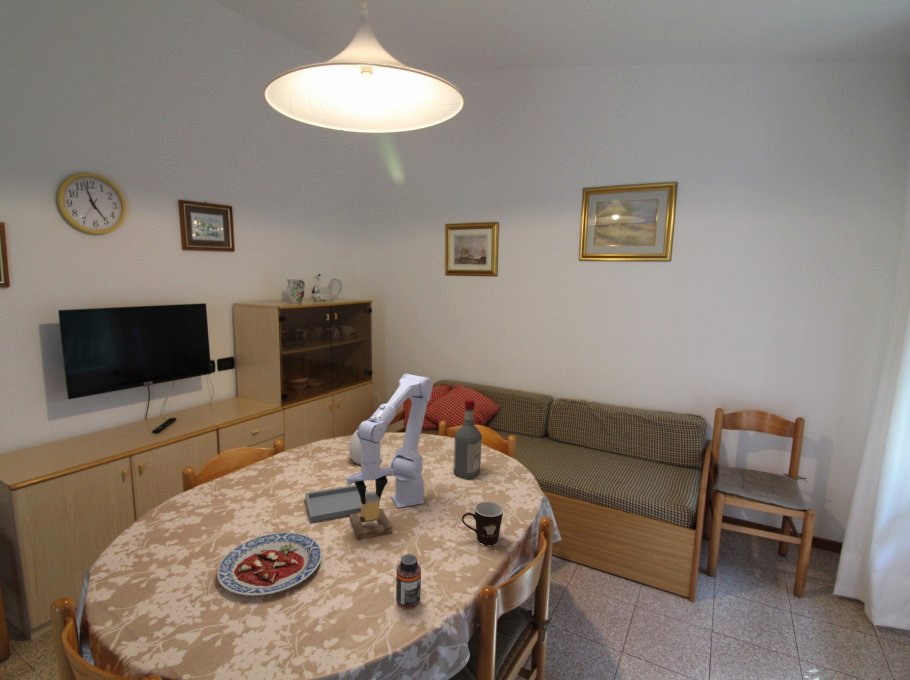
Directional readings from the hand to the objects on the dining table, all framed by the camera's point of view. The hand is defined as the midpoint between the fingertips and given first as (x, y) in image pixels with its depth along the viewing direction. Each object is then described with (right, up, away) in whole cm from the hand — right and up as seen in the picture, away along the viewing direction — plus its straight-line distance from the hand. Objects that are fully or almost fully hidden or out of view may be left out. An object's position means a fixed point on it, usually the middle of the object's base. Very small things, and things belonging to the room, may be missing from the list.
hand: (370, 501), depth 142 cm
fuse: (0, -5, +1) cm, 5 cm away
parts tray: (-13, -6, +13) cm, 19 cm away
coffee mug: (+34, -10, -3) cm, 36 cm away
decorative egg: (-11, 0, +48) cm, 50 cm away
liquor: (+31, -3, +40) cm, 50 cm away
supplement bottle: (+15, -14, -30) cm, 36 cm away
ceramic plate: (-23, -11, -19) cm, 32 cm away
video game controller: (-6, -3, +37) cm, 38 cm away
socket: (0, -8, +1) cm, 8 cm away
